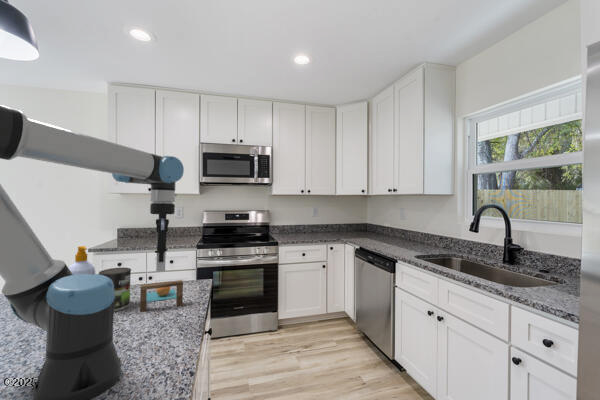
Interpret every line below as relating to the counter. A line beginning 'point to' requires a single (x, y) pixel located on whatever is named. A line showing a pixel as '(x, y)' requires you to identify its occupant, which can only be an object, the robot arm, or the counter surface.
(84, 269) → the soap bottle
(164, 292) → the ball
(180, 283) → the bridge
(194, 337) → the counter surface
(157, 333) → the counter surface
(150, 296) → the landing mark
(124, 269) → the coffee can
